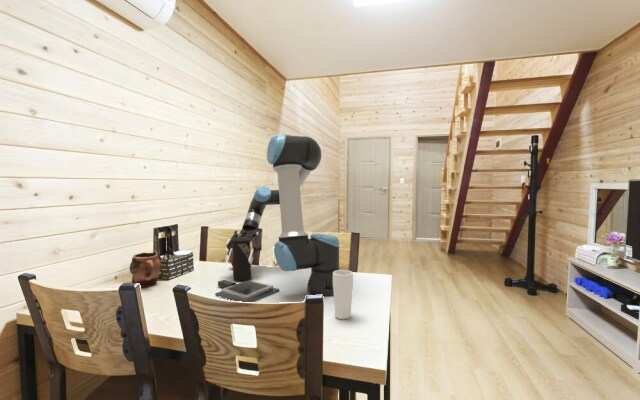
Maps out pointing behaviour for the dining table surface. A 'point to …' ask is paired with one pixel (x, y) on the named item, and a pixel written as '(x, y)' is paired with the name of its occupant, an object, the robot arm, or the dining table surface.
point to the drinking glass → (342, 293)
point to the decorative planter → (145, 269)
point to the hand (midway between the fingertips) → (239, 262)
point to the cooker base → (245, 290)
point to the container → (241, 259)
